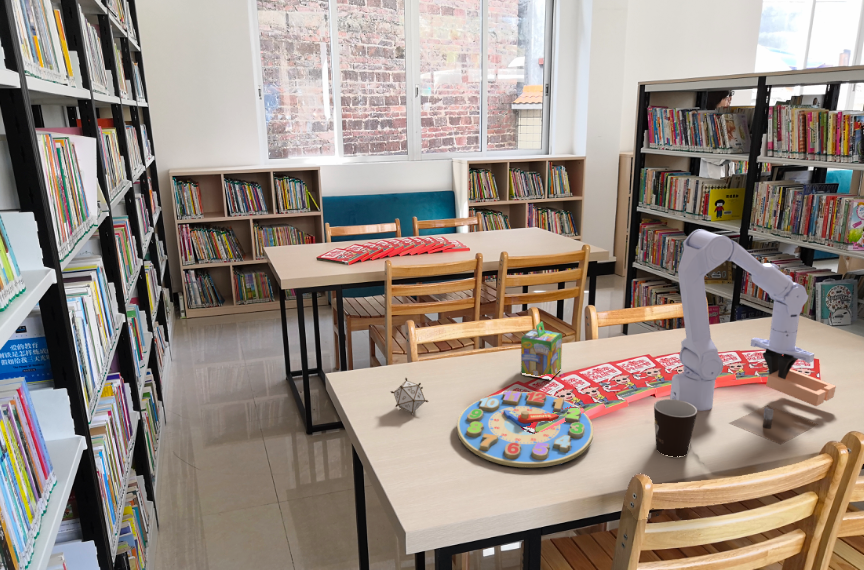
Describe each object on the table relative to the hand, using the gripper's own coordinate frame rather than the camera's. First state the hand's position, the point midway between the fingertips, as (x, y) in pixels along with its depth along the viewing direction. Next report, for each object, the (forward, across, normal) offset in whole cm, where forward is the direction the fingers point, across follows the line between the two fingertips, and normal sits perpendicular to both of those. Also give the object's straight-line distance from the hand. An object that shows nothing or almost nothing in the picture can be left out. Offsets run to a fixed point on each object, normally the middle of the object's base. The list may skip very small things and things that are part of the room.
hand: (777, 380), depth 157 cm
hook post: (+4, -7, +17) cm, 19 cm away
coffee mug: (+6, 0, +40) cm, 40 cm away
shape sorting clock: (+6, +23, +63) cm, 67 cm away
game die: (+6, +49, +78) cm, 92 cm away
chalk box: (+6, +48, +35) cm, 59 cm away
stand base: (+6, -7, +14) cm, 17 cm away
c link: (+1, -5, 0) cm, 5 cm away
